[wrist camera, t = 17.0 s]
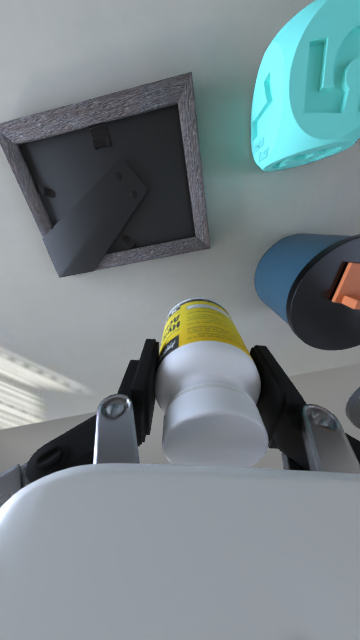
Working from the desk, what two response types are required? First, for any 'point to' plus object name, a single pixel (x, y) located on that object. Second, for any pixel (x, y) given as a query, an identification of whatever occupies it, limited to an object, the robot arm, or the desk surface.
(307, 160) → the decorative dice
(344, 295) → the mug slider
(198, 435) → the supplement bottle
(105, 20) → the desk surface
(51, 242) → the picture frame
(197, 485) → the robot arm
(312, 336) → the travel mug
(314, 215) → the desk surface
